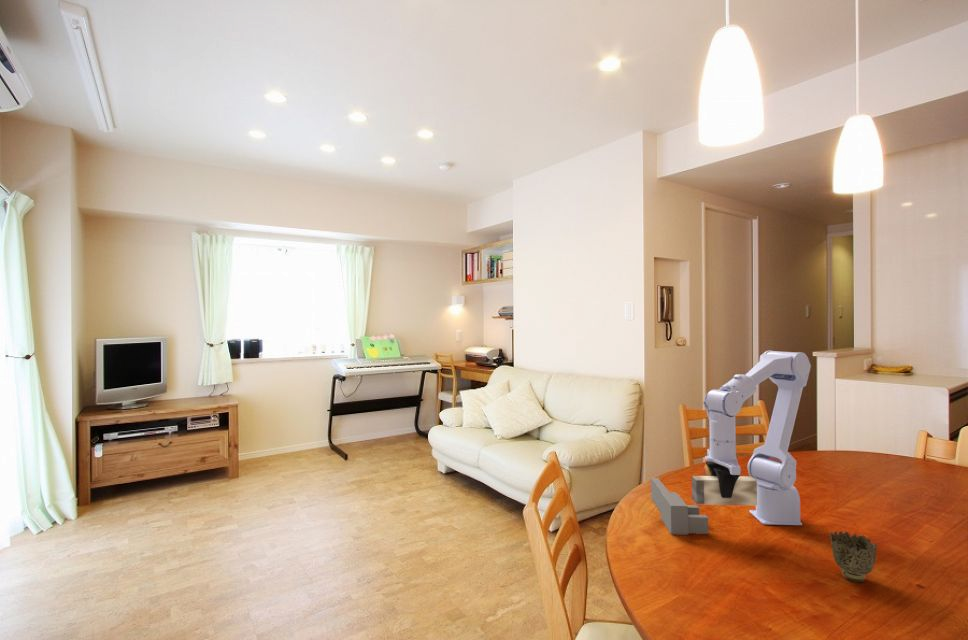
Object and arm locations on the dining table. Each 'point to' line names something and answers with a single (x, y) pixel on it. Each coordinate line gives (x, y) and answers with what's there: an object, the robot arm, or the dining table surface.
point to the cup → (853, 555)
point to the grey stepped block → (677, 511)
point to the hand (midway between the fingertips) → (723, 494)
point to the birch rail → (709, 493)
